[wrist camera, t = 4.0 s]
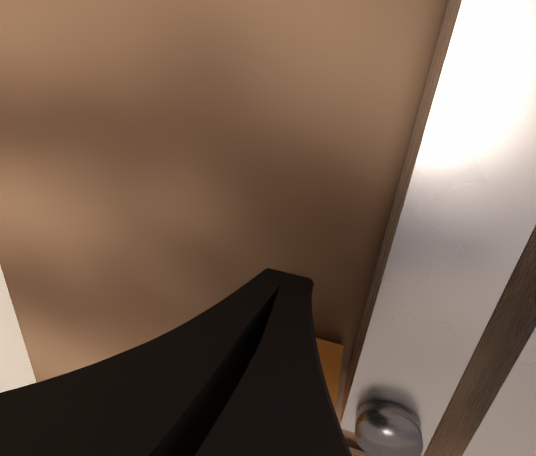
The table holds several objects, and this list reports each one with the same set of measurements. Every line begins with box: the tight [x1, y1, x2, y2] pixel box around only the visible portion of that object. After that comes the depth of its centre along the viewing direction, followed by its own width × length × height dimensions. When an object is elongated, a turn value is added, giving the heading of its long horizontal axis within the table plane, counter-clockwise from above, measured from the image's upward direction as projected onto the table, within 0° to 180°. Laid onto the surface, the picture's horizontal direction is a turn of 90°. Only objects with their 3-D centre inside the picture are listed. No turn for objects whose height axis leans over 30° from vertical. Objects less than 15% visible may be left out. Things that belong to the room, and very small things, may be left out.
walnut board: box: [0, 0, 536, 456], centre depth 9 cm, size 28×22×1 cm
